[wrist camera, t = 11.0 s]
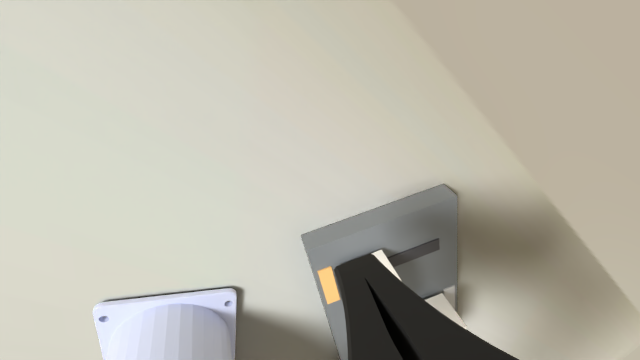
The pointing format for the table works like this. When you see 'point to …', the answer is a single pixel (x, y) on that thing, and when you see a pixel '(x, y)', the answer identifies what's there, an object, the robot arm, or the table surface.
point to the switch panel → (390, 250)
